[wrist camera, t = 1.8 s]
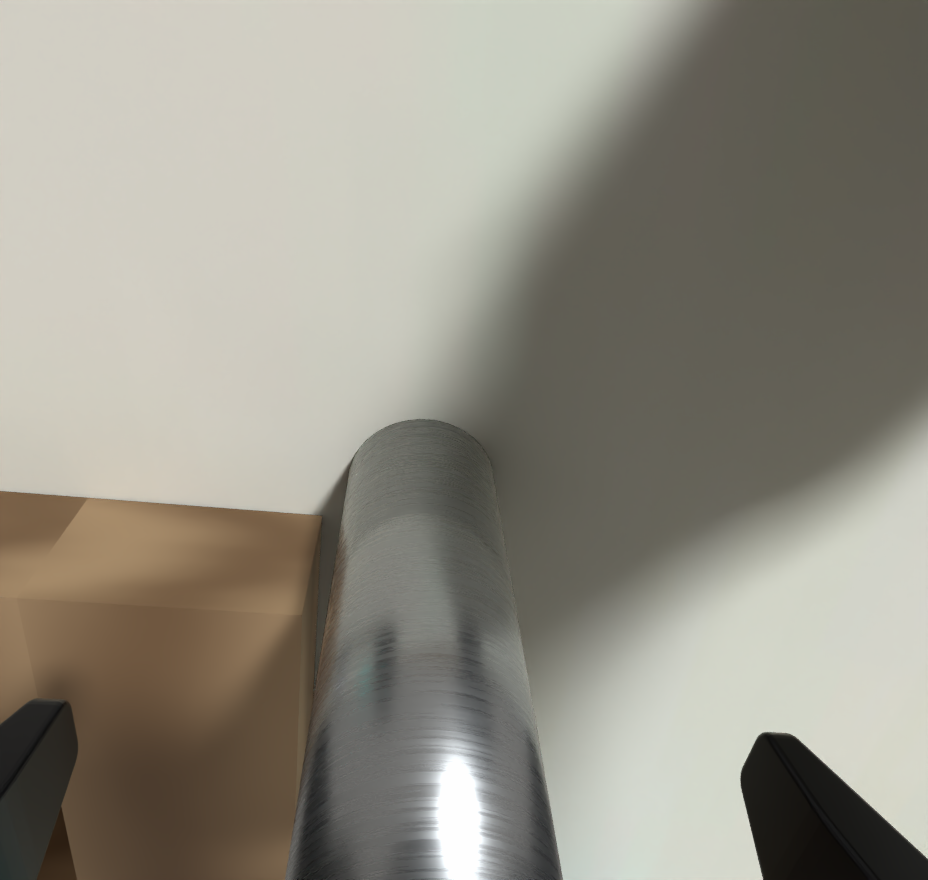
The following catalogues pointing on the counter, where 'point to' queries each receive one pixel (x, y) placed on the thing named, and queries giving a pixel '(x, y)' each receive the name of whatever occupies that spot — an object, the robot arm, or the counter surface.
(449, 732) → the long pin
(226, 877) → the hole block
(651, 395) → the counter surface
